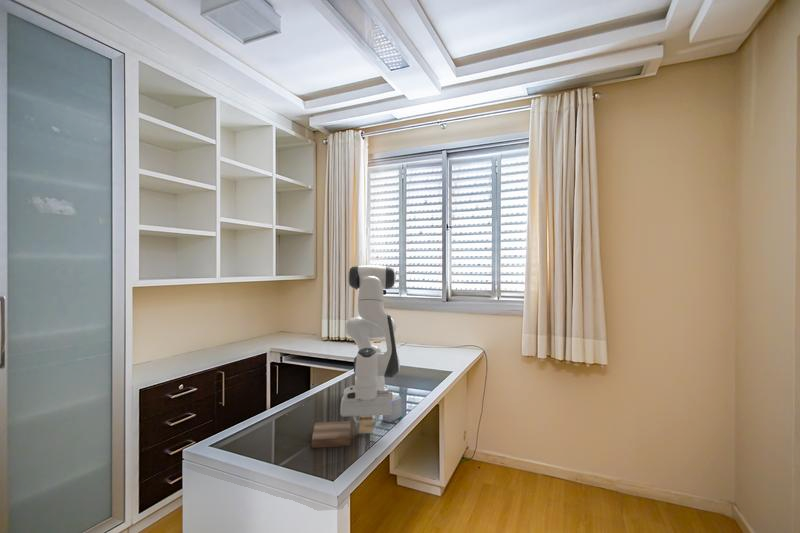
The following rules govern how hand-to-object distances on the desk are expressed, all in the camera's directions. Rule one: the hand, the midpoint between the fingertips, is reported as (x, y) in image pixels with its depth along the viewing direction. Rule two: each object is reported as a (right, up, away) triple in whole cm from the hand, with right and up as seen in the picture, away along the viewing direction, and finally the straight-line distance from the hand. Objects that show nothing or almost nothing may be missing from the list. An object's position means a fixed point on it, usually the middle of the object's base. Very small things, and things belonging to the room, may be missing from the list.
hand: (365, 425), depth 146 cm
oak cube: (0, -2, 0) cm, 2 cm away
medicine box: (+10, -4, +15) cm, 19 cm away
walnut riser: (-13, -3, -3) cm, 14 cm away
